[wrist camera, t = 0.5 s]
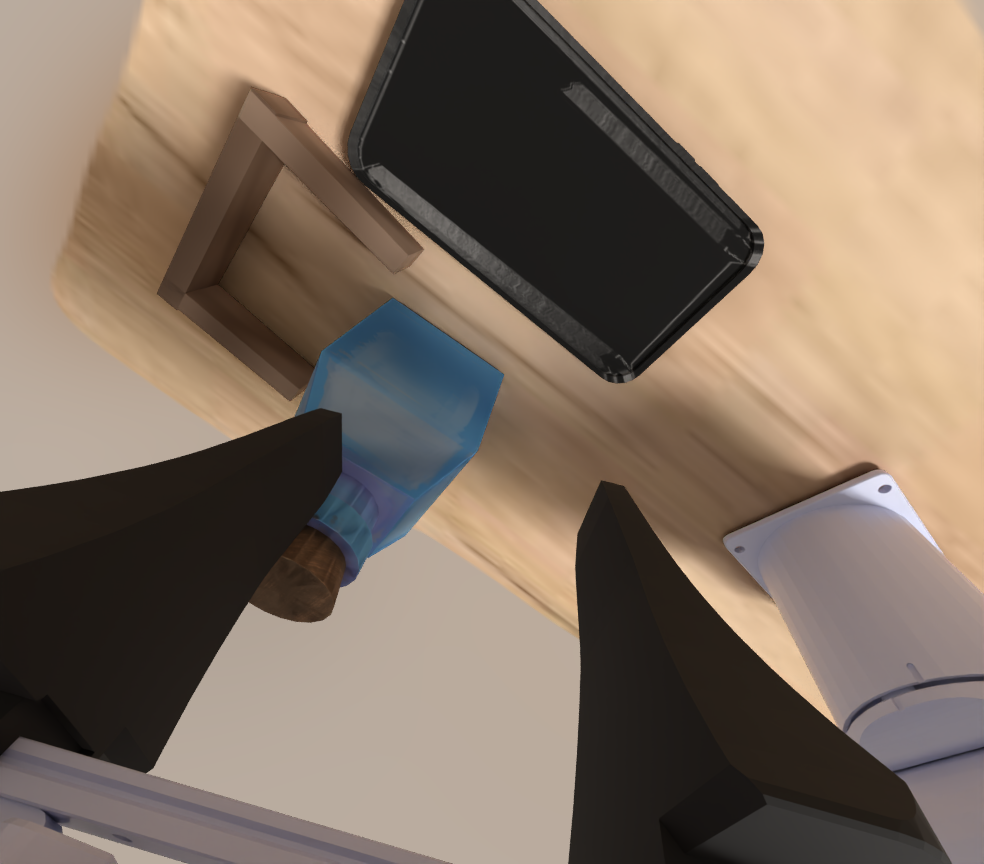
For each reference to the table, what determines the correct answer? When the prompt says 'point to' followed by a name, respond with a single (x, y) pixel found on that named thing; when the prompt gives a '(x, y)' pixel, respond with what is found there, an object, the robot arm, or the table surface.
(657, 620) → the robot arm
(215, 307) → the bracket
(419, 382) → the perfume bottle
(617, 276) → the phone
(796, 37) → the table surface
